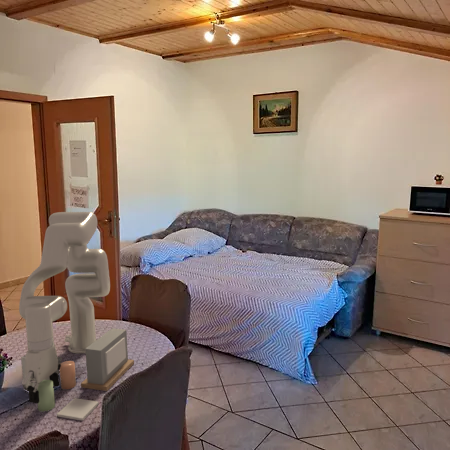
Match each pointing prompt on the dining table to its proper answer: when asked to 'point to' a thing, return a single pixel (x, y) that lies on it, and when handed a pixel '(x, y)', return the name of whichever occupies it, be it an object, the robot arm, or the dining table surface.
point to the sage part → (46, 395)
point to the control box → (107, 360)
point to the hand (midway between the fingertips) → (45, 393)
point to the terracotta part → (67, 375)
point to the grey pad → (78, 409)
